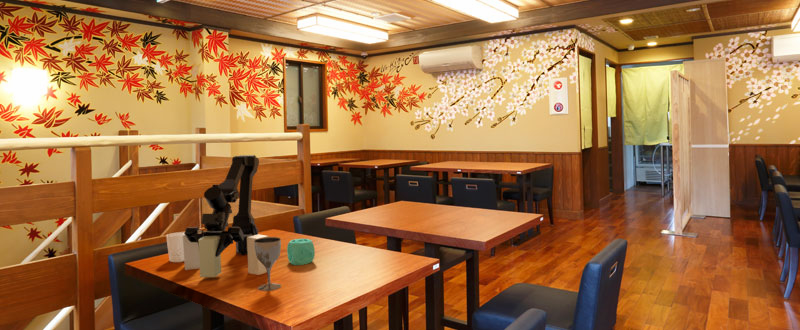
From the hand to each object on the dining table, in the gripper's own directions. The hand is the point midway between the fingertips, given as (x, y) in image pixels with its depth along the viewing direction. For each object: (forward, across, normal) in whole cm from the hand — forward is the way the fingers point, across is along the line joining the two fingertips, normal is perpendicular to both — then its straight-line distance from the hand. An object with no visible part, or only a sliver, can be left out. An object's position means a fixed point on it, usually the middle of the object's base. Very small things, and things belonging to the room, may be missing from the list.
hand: (208, 256), depth 165 cm
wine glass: (+12, +23, 0) cm, 25 cm away
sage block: (+4, 0, +6) cm, 7 cm away
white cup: (-12, -22, +23) cm, 34 cm away
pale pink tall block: (-5, -12, +16) cm, 21 cm away
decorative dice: (-9, +26, +20) cm, 34 cm away
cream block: (0, +14, +11) cm, 18 cm away
